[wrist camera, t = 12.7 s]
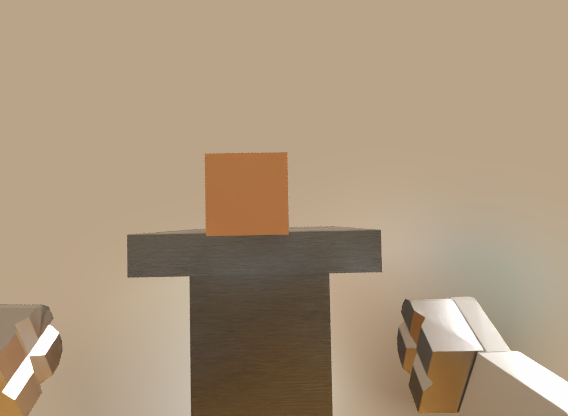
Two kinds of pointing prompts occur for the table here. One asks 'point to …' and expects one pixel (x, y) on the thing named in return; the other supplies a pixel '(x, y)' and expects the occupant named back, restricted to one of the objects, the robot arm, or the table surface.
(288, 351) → the pedestal
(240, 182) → the orange-brown square bar
